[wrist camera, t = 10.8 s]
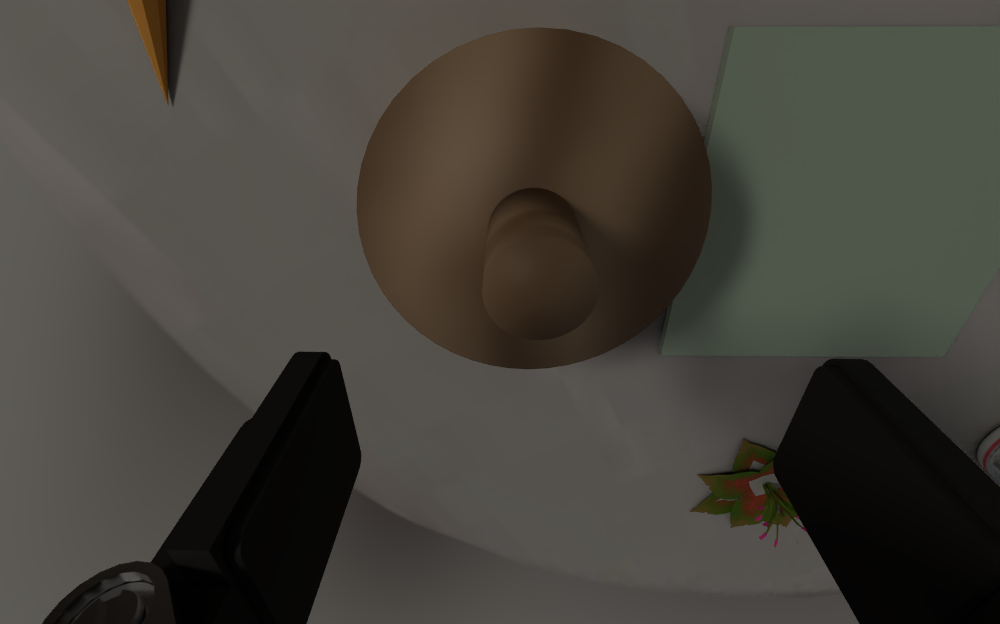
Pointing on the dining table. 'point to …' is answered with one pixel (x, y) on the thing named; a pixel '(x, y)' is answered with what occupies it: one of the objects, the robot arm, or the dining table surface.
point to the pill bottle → (990, 454)
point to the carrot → (153, 35)
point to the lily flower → (748, 493)
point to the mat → (846, 193)
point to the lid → (534, 198)
